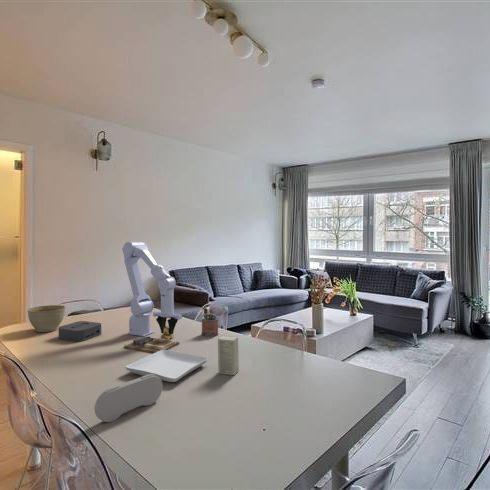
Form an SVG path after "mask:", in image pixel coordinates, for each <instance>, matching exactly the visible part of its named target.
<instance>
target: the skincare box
mask: <svg viewBox="0 0 490 490" xmlns="http://www.w3.org/2000/svg"><path fill="white" fill-rule="evenodd" d="M217 359H218V361H217V362H218V364H217V365H218V368H217V369H218V374H222V375H231V376H235V375H237V373H238V372H239V371H240V370H239V368H240V366H239V365H240V364H239V337H238V336H231V335H221V336H220V337H219V338H217Z"/></svg>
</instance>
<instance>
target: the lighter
mask: <svg viewBox="0 0 490 490" xmlns="http://www.w3.org/2000/svg"><path fill="white" fill-rule="evenodd" d="M202 317H203V318H201V335H202V336H206V337H207V336H209V337H210V336H211V337H215V336H216V337H217V336H219V319H218V318H217V314H213V313H203V314H202Z"/></svg>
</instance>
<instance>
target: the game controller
mask: <svg viewBox="0 0 490 490" xmlns="http://www.w3.org/2000/svg"><path fill="white" fill-rule="evenodd" d="M162 381H163V380H161V379H160V378H159V377H157V376H155V375H154V374H148V375H145V376H142V375H141V376H140V377H137V378H134V379H132V380H129V381H126V382H124V383H121V384H118V385H115V386H111V387H109V388H107V389H105V390H104V391H103V392H102V393H101V394H100V395H99V396H98V398H97V399H96V401H95V404H94V414H95V416H96V418H97V419H99V420H100V421H101V422H104V423H111V422H114V421H116V420H117V419H119V418H120V417H121V416H122V415H123V414H124V413H127V412H129V411H131V410H134V409H136V408H139V407H142V406H145V407H148V405H149V406H152V405H153V404H155V403H156V402H157V401H158V400H159V398H160V397H161V395H162V392H163V382H162Z"/></svg>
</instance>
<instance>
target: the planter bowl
mask: <svg viewBox="0 0 490 490" xmlns="http://www.w3.org/2000/svg"><path fill="white" fill-rule="evenodd" d="M65 311H66V306H65V305H62V304H61V305H58V304H57V305H55V304H53V305H52V304H50V305H40V306H35V307H34V306H33V307H30V308H28V309H27V316H28V320H29V323H30V324H31V326H32V327H33V328H34V329H35V332H37V333H48V332H53V331H57V330H58V328H59V327H60V325H61V324H62V322H63V320H64V317H65Z"/></svg>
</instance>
